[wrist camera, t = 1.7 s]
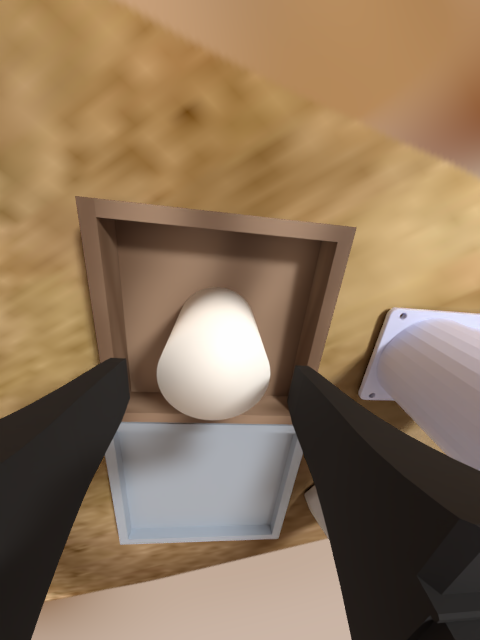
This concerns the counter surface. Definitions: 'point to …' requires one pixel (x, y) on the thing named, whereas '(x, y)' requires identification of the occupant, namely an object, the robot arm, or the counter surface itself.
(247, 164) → the counter surface
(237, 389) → the cream cylinder
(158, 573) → the counter surface
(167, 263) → the brown square tray
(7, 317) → the counter surface
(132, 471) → the slate tray
